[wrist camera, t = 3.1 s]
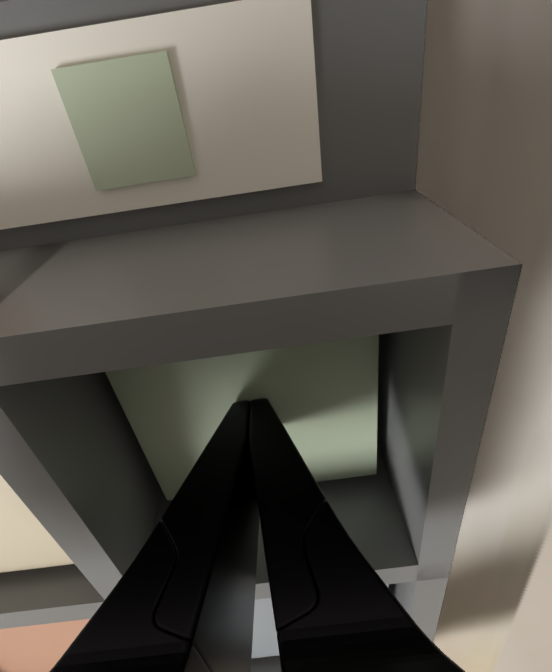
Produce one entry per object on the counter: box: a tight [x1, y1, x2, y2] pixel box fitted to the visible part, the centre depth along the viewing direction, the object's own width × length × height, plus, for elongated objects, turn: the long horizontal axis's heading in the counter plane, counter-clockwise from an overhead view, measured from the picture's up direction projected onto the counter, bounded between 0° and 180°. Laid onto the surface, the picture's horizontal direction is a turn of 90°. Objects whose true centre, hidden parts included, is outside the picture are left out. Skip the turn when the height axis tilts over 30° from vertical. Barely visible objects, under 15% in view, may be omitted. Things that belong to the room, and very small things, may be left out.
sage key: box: [105, 335, 379, 500], centre depth 10 cm, size 6×6×2 cm
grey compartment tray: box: [0, 0, 522, 672], centre depth 11 cm, size 20×16×6 cm
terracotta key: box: [0, 619, 90, 672], centre depth 13 cm, size 6×6×2 cm
